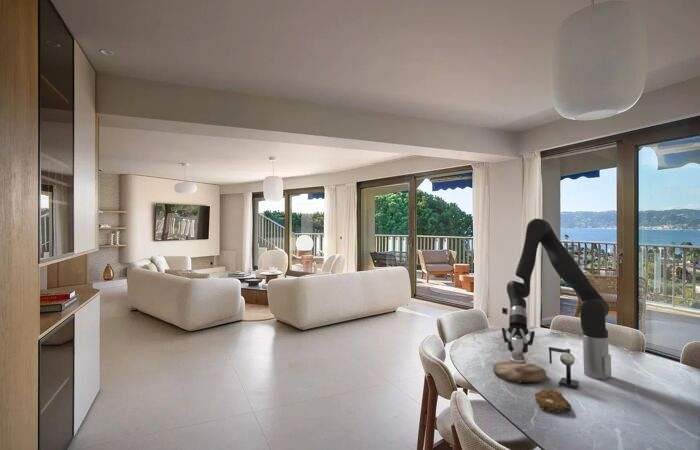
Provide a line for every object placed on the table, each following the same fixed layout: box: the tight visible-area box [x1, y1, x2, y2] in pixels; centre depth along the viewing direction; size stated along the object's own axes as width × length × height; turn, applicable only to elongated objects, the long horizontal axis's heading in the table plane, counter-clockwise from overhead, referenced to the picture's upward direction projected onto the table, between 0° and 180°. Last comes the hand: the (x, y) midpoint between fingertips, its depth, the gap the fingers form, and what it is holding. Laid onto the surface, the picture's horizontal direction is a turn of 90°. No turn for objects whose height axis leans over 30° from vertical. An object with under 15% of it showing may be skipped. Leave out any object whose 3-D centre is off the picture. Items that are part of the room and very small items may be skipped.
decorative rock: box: [534, 388, 572, 415], centre depth 133 cm, size 11×4×15 cm
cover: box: [509, 335, 528, 364], centre depth 162 cm, size 7×7×11 cm
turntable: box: [492, 360, 547, 383], centre depth 161 cm, size 21×21×2 cm
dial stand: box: [548, 346, 580, 390], centre depth 151 cm, size 10×6×14 cm, turn 49°
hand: (517, 351), depth 160 cm, fingers closed on cover, 5 cm apart
